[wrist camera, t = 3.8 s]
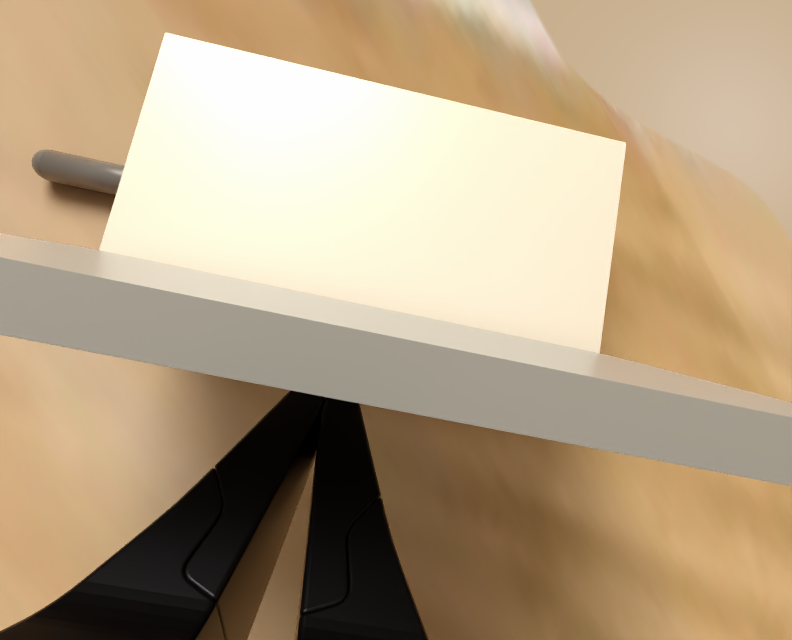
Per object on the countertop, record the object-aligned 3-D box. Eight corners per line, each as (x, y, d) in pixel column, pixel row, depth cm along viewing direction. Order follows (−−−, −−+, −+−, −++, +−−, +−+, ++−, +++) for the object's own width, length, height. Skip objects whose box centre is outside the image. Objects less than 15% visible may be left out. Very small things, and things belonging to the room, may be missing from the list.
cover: (612, 356, 14) (605, 386, 14) (82, 246, 13) (76, 279, 13) (1048, 468, 5) (1023, 555, 5) (-620, 132, 4) (-627, 245, 4)
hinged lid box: (534, 357, 20) (599, 354, 15) (20, 253, 19) (-124, 205, 13) (557, 201, 21) (626, 142, 16) (74, 91, 20) (-38, -17, 14)
